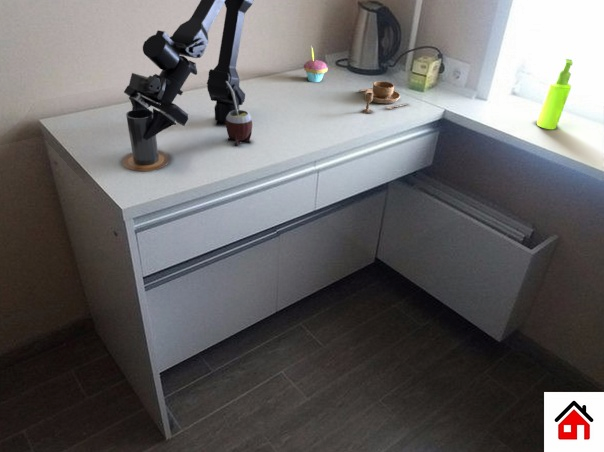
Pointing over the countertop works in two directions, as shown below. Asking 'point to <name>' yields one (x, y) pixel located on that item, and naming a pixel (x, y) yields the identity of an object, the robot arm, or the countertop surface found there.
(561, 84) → the soap dispenser
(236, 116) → the mate gourd
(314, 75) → the cupcake
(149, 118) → the grey metal tumbler
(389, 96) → the place setting
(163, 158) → the trivet
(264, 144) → the countertop surface
